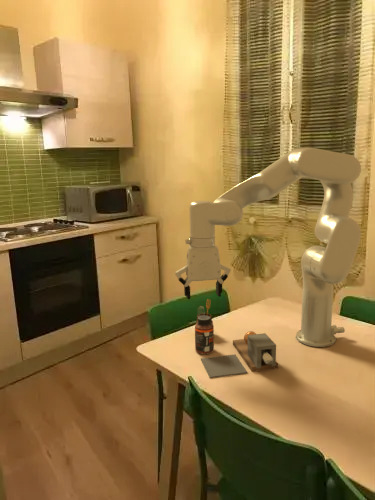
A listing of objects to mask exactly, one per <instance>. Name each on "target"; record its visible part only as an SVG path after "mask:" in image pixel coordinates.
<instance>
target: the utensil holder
mask: <svg viewBox="0 0 375 500" xmlns="http://www.w3.org/2000/svg"><path fill="white" fill-rule="evenodd" d="M211 302H212V301H211V299H210V298H209V299H208V298H207V299H206V303H205V304H206V305H205V308H206V312H205V308H204V306H201V305H200V306H199V307H198V310H197V315H196V322H195V324H196V323H198V317H199V316H202V315H206V316H209V317H210V319H211V321H210V322H211V323H212V324H213V325H214V322H213V320H212V319H213V317H212V315H211V313H209V309H211ZM202 311H203V312H202Z"/></svg>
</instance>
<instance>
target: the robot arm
mask: <svg viewBox="0 0 375 500" xmlns="http://www.w3.org/2000/svg"><path fill="white" fill-rule="evenodd" d="M361 172H362V165H361V162H360V160H359V159H358V158H357V157H356V156H354V155H351V154H348V153H343V152H337V151H331V150H326V149H320V148H315V147H301V148H295V149H292V150H290V151H289V152H287V153H285V154H284V155H282V157H280V158H278V159H277V160H275V161H274V162H272V163H271V164H270V165H268V166H267V167H265V168H264V169H262V170H261V171H260V172H258V173H256V174H254V175H252V176H251V177H249V178H247V179H246V180H244V181H243V182H240V183H239V184H236V185H235V186H233V187H231V188H230V189H229V190H228V191H226V192H224V193H223V194H221V195H219V196H218V197H216V199H215V200H214V201H210V200H195V201H192V202H191V203H190V204H189V238H188V239H185V245H189V246H187V252H186V253H187V254H186V261H185V262H186V263H185V266H183V267H181V268H180V269H178V270H176V271H175V272H174V274H175V276H176V278H177V280H178V281H179V282H180V283H181V284H182V285H183V287H184V289H183V290H184V291H183V292H184V296H185V297H186V298H187V300H191V286H190V284H191V283H192V282H203V281H215V280H216V282H215V294H216V295H217V296H218V297H221V296H222V293H223V284H224V283H225V281H226V280H227V279H228V278H229V275H230V273H231V270H232V269H231V268H230V267H228V266H226V265H224V264H222V263H221V258H220V251H219V247H218V246H217V245H216V226H224V227H232V226H236V225H238V224H239V223H240V222H241V221H242V218H243V216H244V212H243V211H244V210H243V209H244V208H246V207H248V206H250V205H252V204H254V203H257V202H260V201H265V200H266V201H267V200H270V199H272V198H274V197H276V196H278V195H279V194H280V193H282V192H283V191H285V190H286V189H287V188H288V187H291V186H292V185H293V184H295V183H296V182H297V181H299V180H300V179H302V178H303V179H311V180H317V181H319V182H320V184H321V186H322V187H323V193H324V195H323V201H322V204H321V208H320V210H319V211H320V212H319V213H318V217H317V220H316V224H315V227H314V236H315V237H316V239H318V240H319V241H320V242H321V243H324V244H326V247H325V246H321V245H313V246H310V247H308V248H306V250H304V251H303V254H302V255H301V260H300V267H301V275H302V294H301V296H302V297H301V324H300V325H301V326H300V330H298V331H296V333H295V338H296V340H297V341H298V342H299V343H301V344H304V345H306V346H309V347H314V348H315V347H317V348H326V346H327V347H329V346H330V345H331V346H332V345H334V344H335V343H336V342H337V341H336V340H337V339H336V336H335V335H336V334H342V333H345V331H346V329H345V327H344V326H337V325H336V324H335V325H333V324H332V320H333V305H334V304H333V300H334V285H336V284H340V283H342V282H343V281H345V280H346V278H347V277H348V276H349V274H350V272H351V269H352V266H353V264H354V260H355V258H356V254H357V252H358V250H359V246H360V242H361V236H362V231H361V227H360V224H358V222H357V221H356V220H355V219H354V218H352V217H349V216H350V213H351V209H352V205H353V202H354V191H353V187H352V183H354V182H355V181H356V180H358V178H359V177H360V175H361ZM222 270H223V271H224V273H223V274H222ZM184 273H186V274H185V275H186V277H185V278H184V277H183V276H182V275H183V274H184Z"/></svg>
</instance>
